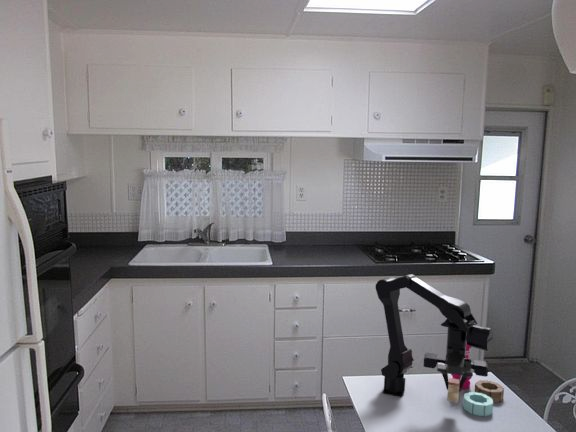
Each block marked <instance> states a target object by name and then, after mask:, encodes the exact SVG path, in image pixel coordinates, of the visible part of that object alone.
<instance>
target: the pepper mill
mask: <svg viewBox="0 0 576 432" xmlns="http://www.w3.org/2000/svg"><path fill="white" fill-rule="evenodd" d="M471 349H472V347H470V346H469V345H467V342H466V355H465V357H466V358H467V359H469V357H470V355H471ZM450 375H451V376H452V377H451V378H453V379H459V382H460V377H461V375H457V374H450ZM472 378H473V376H472V377H470V376H469V377H468V378H467V379H466V381H465V382H464V384H463V387H462V389H461V390H465V389H467V390H468V389H469V388H470V387H471V381H470V380H471V379H472Z"/></svg>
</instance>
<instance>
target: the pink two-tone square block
mask: <svg viewBox="0 0 576 432" xmlns="http://www.w3.org/2000/svg"><path fill="white" fill-rule="evenodd" d="M459 398H460V392H459V379H453V377H448V390H447V398H446V399H447V401H449V402H455V403H459Z"/></svg>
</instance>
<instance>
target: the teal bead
mask: <svg viewBox="0 0 576 432" xmlns="http://www.w3.org/2000/svg"><path fill="white" fill-rule="evenodd" d="M462 403H463V404H462V405H463V409H464V411H466V412H468V413H469V414H471V415H474V416H478V417H479V416H480V417H488V416H492V415H493V413H494V412H493V409H494V402H493V399H492V398H490V397H489V396H487V395H485V394H483V393H477V392H475V391H469V392H466V393H464V394H463V402H462Z"/></svg>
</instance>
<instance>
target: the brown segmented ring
mask: <svg viewBox="0 0 576 432" xmlns="http://www.w3.org/2000/svg"><path fill="white" fill-rule="evenodd" d="M474 392H477V393H483V394H485V395H487V396H489V397H490V398H492V399H493V403H499V402H502V401H503V400H504V392H505V388H504V387H503V386H502V385H501V384H500V383H498V382H495V381H492V380H488V379H486V380H485V379H484V380H478V381H476V382H475V383H474Z"/></svg>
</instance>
